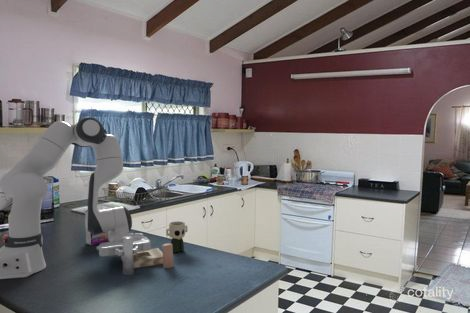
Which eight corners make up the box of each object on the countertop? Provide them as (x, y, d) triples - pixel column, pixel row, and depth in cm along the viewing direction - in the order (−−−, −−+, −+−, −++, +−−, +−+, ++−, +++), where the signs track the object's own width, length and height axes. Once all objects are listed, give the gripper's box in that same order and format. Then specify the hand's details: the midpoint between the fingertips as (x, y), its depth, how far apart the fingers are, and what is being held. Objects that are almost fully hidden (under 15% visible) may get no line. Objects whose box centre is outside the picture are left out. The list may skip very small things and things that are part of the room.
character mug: (170, 255, 171) (170, 226, 170) (162, 251, 176) (162, 223, 175) (191, 250, 178) (191, 222, 176) (183, 246, 183) (183, 219, 182)
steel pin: (124, 275, 148) (123, 239, 147) (122, 271, 152) (121, 237, 151) (134, 273, 150) (134, 238, 149) (132, 270, 153) (132, 235, 152)
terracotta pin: (165, 269, 155) (164, 247, 154) (162, 265, 159) (161, 244, 158) (174, 267, 157) (173, 245, 156) (171, 263, 160) (170, 242, 160)
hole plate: (126, 269, 154) (126, 262, 154) (121, 259, 165) (121, 252, 165) (165, 263, 161) (165, 256, 161) (158, 254, 172) (158, 247, 172)
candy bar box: (105, 238, 195) (104, 206, 194) (111, 240, 192) (110, 207, 191) (85, 243, 187) (84, 210, 185) (91, 245, 184) (90, 211, 182)
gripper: (95, 238, 157) (100, 248, 145) (146, 232, 166) (154, 241, 153) (96, 253, 157) (100, 264, 145) (146, 247, 166) (154, 257, 154)
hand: (128, 252), depth 149 cm, fingers closed on steel pin, 4 cm apart
